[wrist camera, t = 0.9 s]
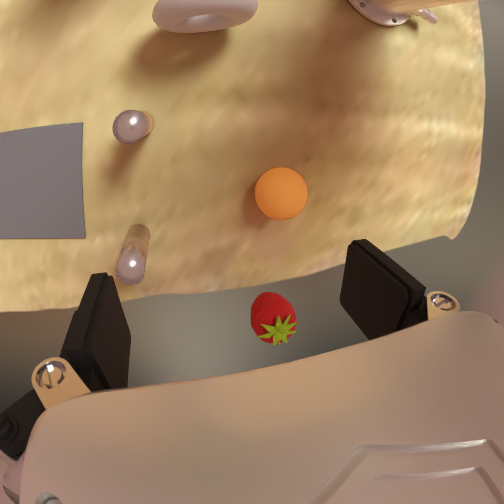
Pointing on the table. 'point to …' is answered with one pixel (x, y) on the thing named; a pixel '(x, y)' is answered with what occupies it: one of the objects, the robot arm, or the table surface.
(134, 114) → the post
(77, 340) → the robot arm
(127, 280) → the post
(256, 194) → the ball
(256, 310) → the strawberry
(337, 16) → the table surface
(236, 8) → the donut
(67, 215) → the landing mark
